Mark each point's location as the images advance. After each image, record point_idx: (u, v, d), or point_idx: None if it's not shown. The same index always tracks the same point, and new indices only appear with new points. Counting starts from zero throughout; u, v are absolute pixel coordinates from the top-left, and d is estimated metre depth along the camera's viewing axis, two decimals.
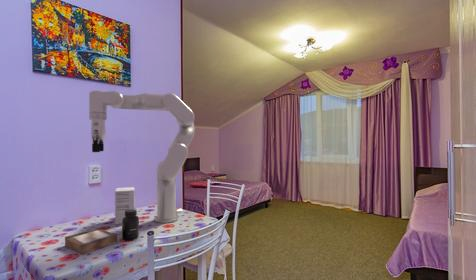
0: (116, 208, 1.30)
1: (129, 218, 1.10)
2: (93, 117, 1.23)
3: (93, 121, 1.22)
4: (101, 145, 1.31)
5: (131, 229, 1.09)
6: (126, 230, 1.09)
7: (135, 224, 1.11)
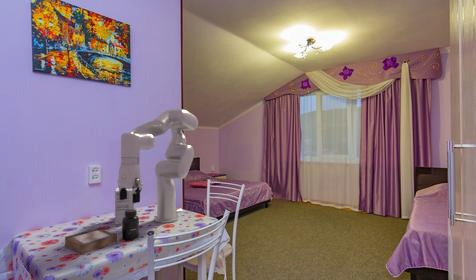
0: (116, 208, 1.30)
1: (129, 218, 1.10)
2: None
3: None
4: None
5: (131, 229, 1.09)
6: (126, 230, 1.09)
7: (135, 224, 1.11)
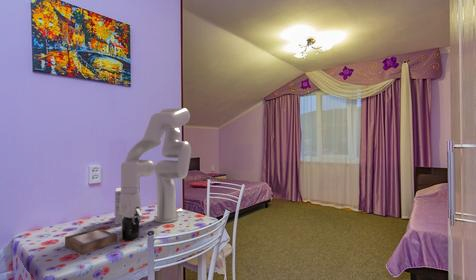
0: (116, 208, 1.30)
1: (129, 218, 1.10)
2: None
3: None
4: None
5: (131, 229, 1.09)
6: (126, 230, 1.09)
7: None
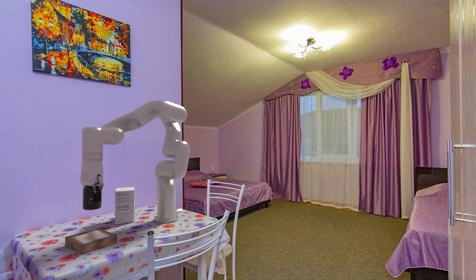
0: (116, 208, 1.30)
1: (90, 186, 1.04)
2: None
3: None
4: None
5: (92, 197, 1.03)
6: (87, 199, 1.02)
7: None
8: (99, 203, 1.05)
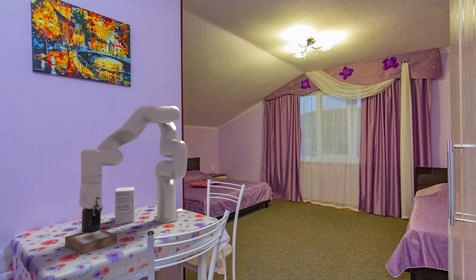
0: (116, 208, 1.30)
1: (89, 209, 1.03)
2: None
3: None
4: None
5: (91, 220, 1.03)
6: (86, 221, 1.02)
7: None
8: (98, 225, 1.05)
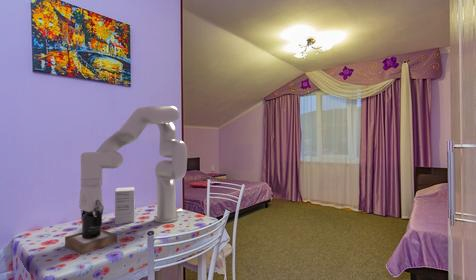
0: (116, 208, 1.30)
1: (89, 214, 1.04)
2: None
3: None
4: None
5: (91, 226, 1.03)
6: (86, 227, 1.03)
7: None
8: (98, 231, 1.05)
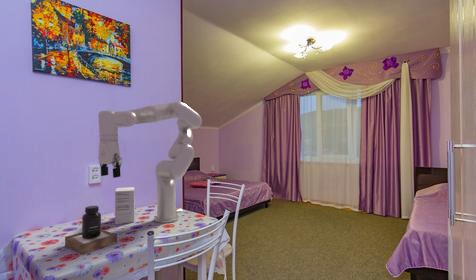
0: (116, 208, 1.30)
1: (89, 214, 1.04)
2: None
3: None
4: None
5: (91, 226, 1.03)
6: (86, 227, 1.03)
7: (96, 221, 1.04)
8: (98, 231, 1.05)
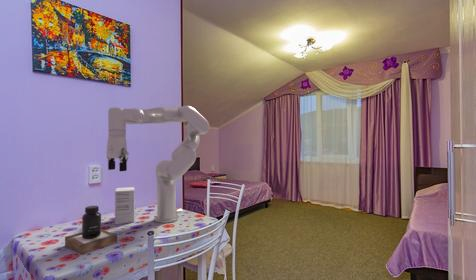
0: (116, 208, 1.30)
1: (89, 214, 1.04)
2: None
3: None
4: None
5: (91, 226, 1.03)
6: (86, 227, 1.03)
7: (96, 221, 1.04)
8: (98, 231, 1.05)
